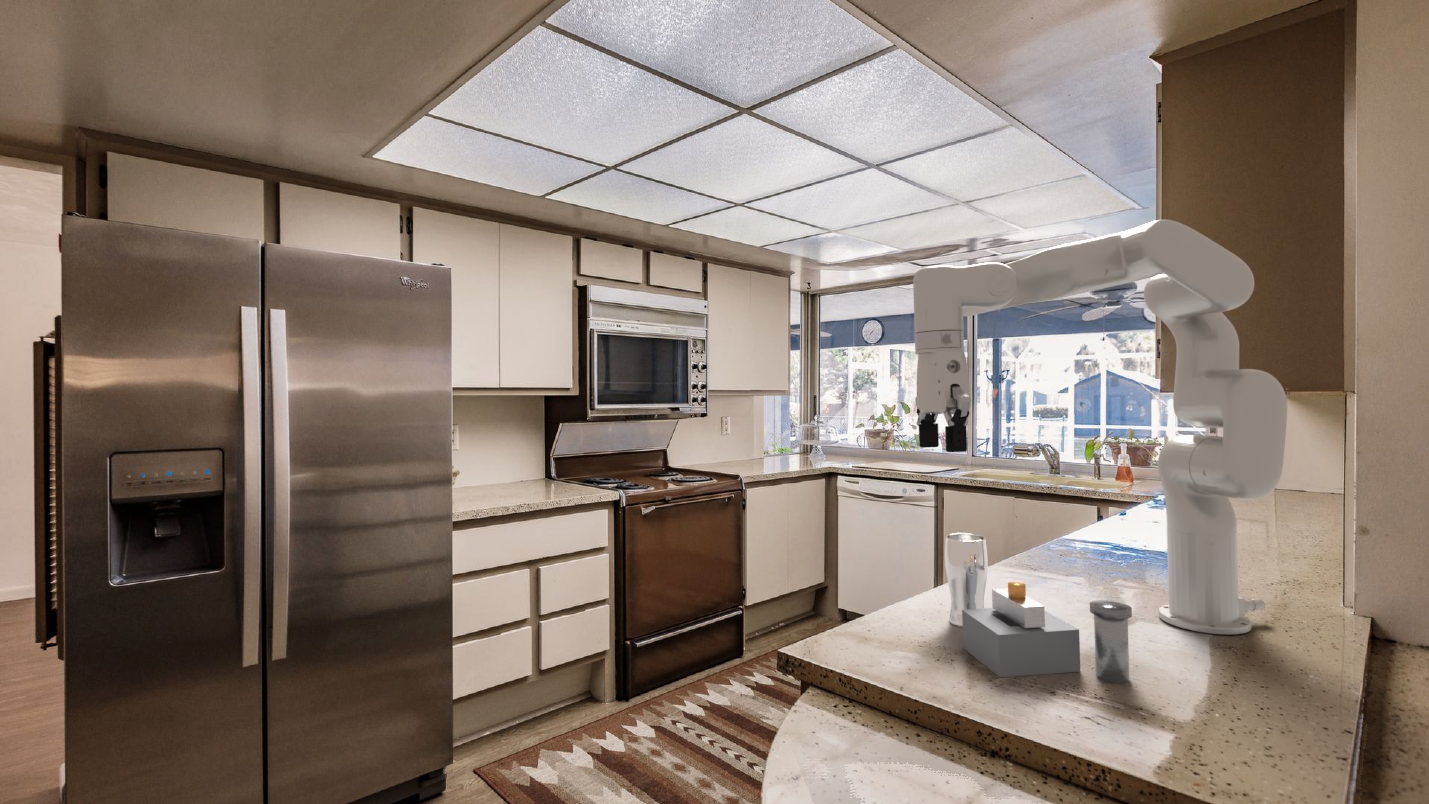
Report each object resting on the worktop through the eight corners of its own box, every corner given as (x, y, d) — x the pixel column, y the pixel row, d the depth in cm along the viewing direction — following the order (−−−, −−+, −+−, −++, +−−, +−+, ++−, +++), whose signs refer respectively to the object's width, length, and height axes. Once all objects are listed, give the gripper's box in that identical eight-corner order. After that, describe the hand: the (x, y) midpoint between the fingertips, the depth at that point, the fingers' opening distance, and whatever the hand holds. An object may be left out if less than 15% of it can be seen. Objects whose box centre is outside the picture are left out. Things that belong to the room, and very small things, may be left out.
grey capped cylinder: (1116, 668, 94) (1114, 599, 93) (1142, 684, 89) (1140, 610, 89) (1083, 671, 93) (1081, 601, 93) (1107, 686, 88) (1105, 612, 88)
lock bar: (1010, 607, 103) (1009, 575, 103) (1044, 627, 94) (1043, 592, 94) (992, 608, 102) (991, 576, 102) (1025, 628, 93) (1024, 593, 93)
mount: (1035, 642, 104) (1034, 605, 104) (1080, 671, 93) (1079, 629, 93) (963, 647, 103) (962, 609, 103) (999, 677, 92) (998, 635, 92)
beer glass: (993, 630, 110) (990, 541, 110) (950, 629, 111) (947, 541, 111) (985, 616, 117) (982, 532, 117) (944, 615, 118) (941, 532, 118)
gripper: (989, 338, 98) (992, 452, 98) (937, 347, 115) (940, 444, 115) (941, 339, 97) (944, 454, 97) (896, 348, 114) (899, 446, 114)
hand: (942, 449), depth 106 cm, fingers open, 9 cm apart
